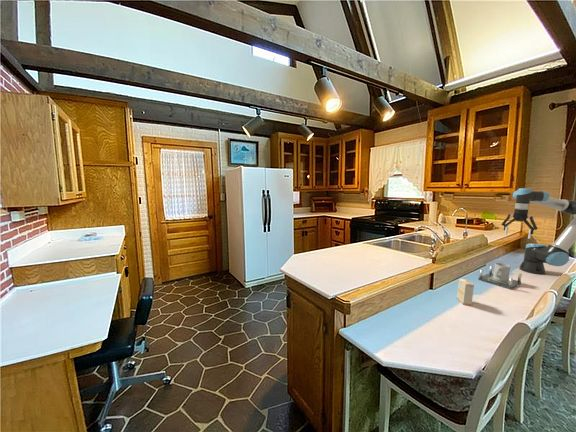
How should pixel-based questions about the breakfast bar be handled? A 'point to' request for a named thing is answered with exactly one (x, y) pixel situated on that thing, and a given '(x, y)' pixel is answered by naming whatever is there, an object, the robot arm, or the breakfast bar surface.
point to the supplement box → (465, 291)
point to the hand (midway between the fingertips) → (517, 236)
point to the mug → (501, 272)
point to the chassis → (506, 284)
